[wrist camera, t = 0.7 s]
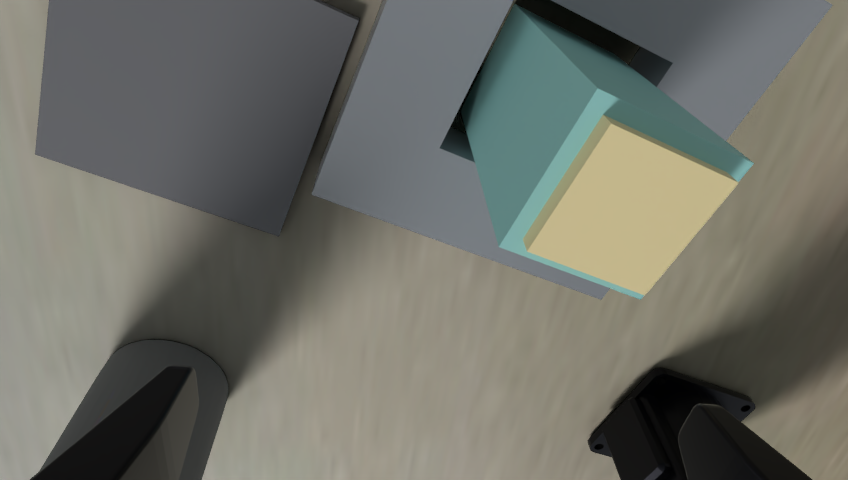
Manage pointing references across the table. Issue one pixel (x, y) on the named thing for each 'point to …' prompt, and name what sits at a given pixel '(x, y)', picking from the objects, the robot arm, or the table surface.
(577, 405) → the table surface
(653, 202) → the plug
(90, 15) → the pad
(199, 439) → the bottle
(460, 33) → the grey square socket block
